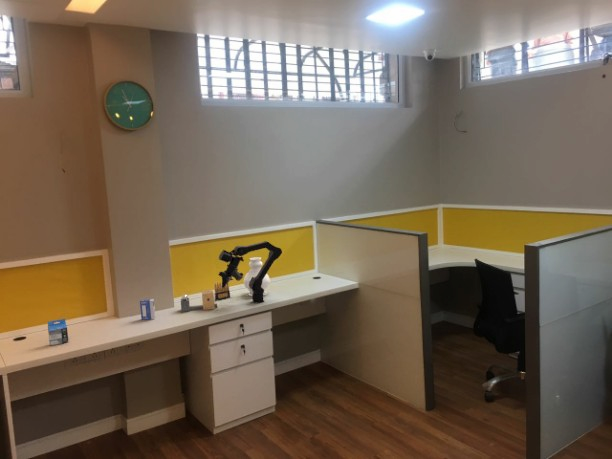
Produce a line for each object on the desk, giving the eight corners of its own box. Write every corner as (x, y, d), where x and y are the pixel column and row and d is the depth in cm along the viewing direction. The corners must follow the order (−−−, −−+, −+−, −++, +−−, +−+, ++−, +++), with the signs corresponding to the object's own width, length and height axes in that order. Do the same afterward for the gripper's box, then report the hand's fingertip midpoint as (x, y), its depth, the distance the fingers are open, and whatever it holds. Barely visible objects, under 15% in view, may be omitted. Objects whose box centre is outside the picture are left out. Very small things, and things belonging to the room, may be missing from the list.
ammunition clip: (215, 300, 354) (214, 283, 352) (214, 300, 355) (213, 282, 354) (230, 297, 360) (229, 280, 358) (229, 297, 361) (227, 279, 360)
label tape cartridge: (50, 346, 279) (47, 323, 277) (49, 344, 282) (46, 321, 281) (68, 342, 284) (66, 320, 282) (67, 340, 287) (65, 318, 285)
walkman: (141, 320, 318) (139, 300, 316) (142, 318, 321) (141, 299, 319) (154, 319, 318) (152, 299, 317) (155, 318, 321) (154, 298, 319)
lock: (214, 305, 342) (212, 290, 340) (214, 308, 334) (213, 293, 332) (202, 306, 340) (201, 291, 339) (203, 310, 332) (202, 294, 331)
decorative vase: (265, 297, 355) (263, 260, 351) (240, 297, 359) (238, 260, 356) (274, 291, 372) (271, 255, 368) (250, 290, 376) (247, 255, 373)
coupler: (216, 305, 341) (215, 290, 340) (217, 308, 335) (216, 292, 333) (181, 309, 337) (180, 293, 335) (181, 312, 330) (180, 296, 329)
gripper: (238, 270, 326) (228, 293, 327) (249, 270, 344) (238, 292, 345) (223, 262, 329) (212, 285, 329) (234, 263, 347) (224, 284, 347)
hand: (222, 287), depth 338 cm, fingers closed
